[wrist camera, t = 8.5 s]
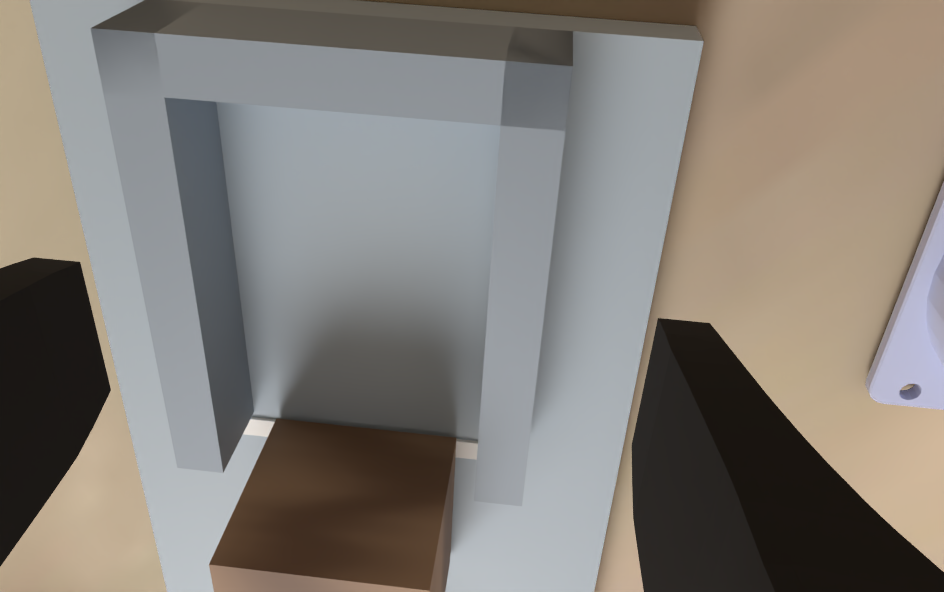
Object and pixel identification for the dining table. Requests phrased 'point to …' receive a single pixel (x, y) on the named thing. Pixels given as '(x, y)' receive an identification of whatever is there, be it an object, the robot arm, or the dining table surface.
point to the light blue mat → (375, 248)
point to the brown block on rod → (341, 513)
